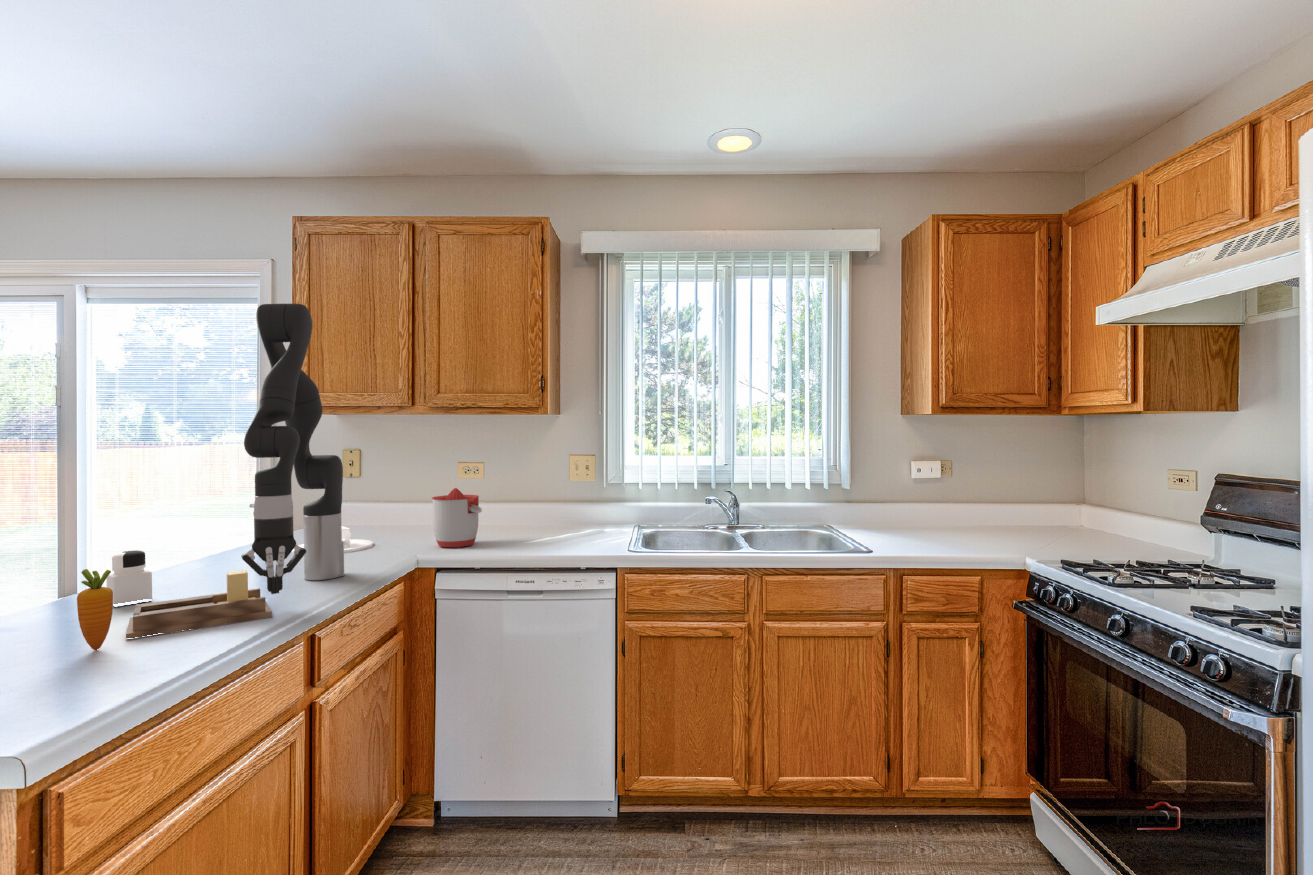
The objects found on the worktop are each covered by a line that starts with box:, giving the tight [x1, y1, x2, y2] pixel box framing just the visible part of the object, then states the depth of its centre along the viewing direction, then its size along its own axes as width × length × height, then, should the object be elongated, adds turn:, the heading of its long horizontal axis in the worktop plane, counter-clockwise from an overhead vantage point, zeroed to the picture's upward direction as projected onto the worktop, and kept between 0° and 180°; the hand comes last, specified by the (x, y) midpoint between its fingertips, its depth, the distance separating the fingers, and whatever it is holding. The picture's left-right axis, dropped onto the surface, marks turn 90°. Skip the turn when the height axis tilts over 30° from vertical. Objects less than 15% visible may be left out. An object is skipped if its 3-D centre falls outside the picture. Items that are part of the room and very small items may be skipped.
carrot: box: [76, 568, 114, 651], centre depth 117 cm, size 5×5×15 cm
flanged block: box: [217, 569, 255, 604], centre depth 139 cm, size 7×7×8 cm
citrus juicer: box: [431, 487, 482, 549], centre depth 222 cm, size 16×17×20 cm
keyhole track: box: [125, 587, 273, 639], centre depth 135 cm, size 24×14×4 cm, turn 127°
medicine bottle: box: [105, 549, 153, 604], centre depth 151 cm, size 7×7×12 cm
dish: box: [291, 525, 374, 554], centre depth 220 cm, size 25×25×11 cm
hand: (275, 592), depth 143 cm, fingers closed
